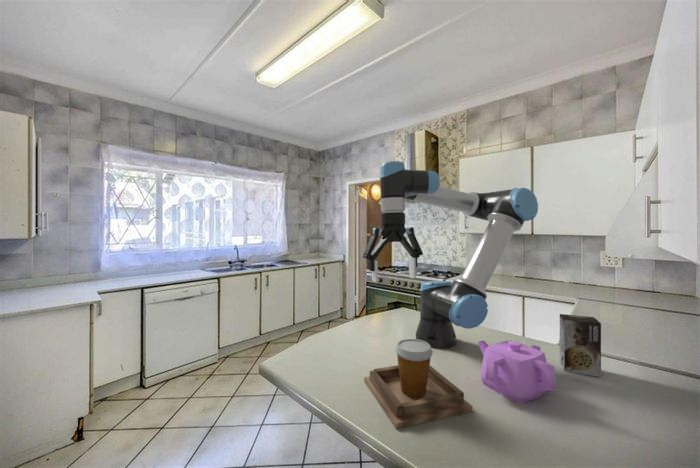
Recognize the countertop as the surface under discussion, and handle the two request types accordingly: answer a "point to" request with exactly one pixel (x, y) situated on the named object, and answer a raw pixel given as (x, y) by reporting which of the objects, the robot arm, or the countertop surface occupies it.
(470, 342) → the countertop surface
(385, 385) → the cup caddy
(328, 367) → the countertop surface
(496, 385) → the teakettle
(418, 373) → the disposable coffee cup
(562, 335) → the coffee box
